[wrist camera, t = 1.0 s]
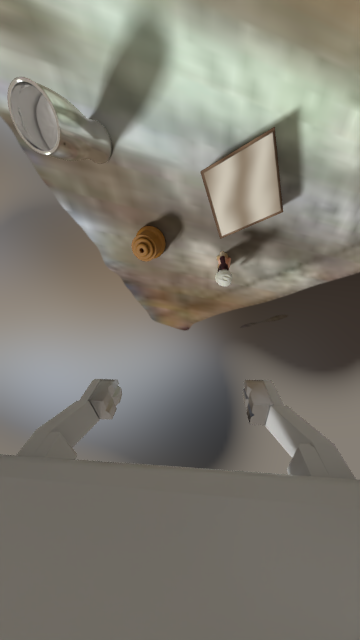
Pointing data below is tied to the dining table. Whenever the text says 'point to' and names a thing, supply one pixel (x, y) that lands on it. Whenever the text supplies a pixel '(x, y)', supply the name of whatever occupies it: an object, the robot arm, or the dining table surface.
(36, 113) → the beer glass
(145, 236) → the ornamental finial
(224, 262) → the grandmother figurine
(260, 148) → the plinth
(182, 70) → the dining table surface
